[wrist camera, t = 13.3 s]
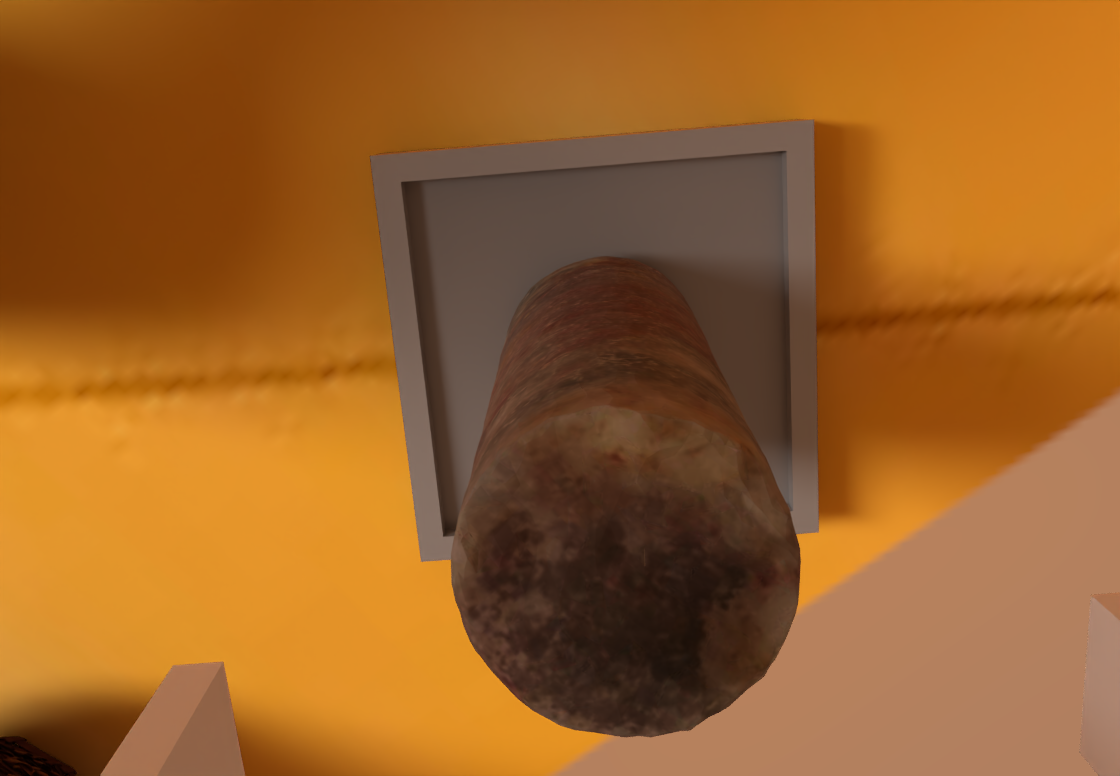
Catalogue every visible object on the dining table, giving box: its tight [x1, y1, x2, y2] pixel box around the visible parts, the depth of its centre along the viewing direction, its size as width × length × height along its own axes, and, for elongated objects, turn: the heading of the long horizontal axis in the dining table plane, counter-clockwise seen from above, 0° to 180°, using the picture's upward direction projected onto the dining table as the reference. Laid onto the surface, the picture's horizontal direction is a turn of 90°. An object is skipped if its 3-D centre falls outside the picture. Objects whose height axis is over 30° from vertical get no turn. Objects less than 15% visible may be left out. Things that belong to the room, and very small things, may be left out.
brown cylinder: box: [451, 256, 801, 737], centre depth 29 cm, size 8×7×20 cm
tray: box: [370, 119, 819, 562], centre depth 39 cm, size 16×16×2 cm
